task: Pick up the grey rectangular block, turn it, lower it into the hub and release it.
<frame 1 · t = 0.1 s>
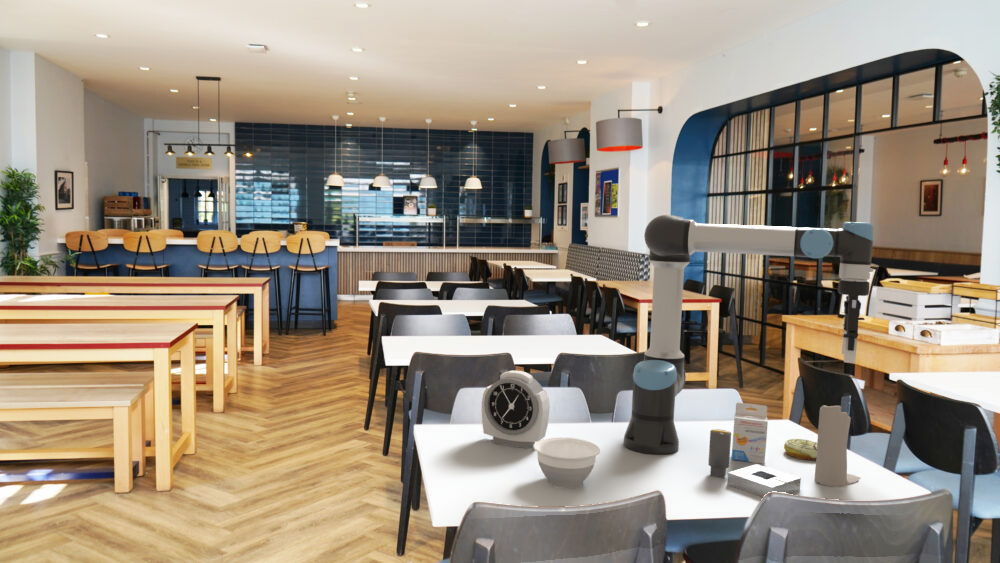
hand: (848, 358, 206), 28 cm above the table, fingers open, 13 cm apart
bowl: (565, 482, 183), on the table
ink box: (748, 460, 205), on the table
grey boot shape: (838, 480, 192), on the table
decorated donut: (804, 456, 211), on the table
grey rectangular block: (718, 475, 192), on the table
hub: (763, 487, 184), on the table
alarm clock: (514, 443, 212), on the table
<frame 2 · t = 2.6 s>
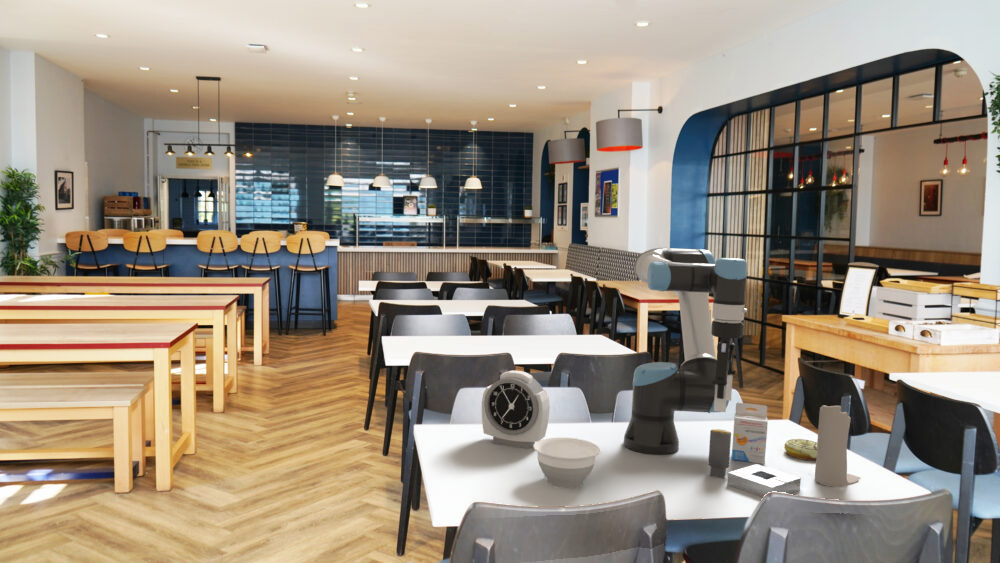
hand: (722, 405, 190), 18 cm above the table, fingers open, 13 cm apart
nothing on the table moved.
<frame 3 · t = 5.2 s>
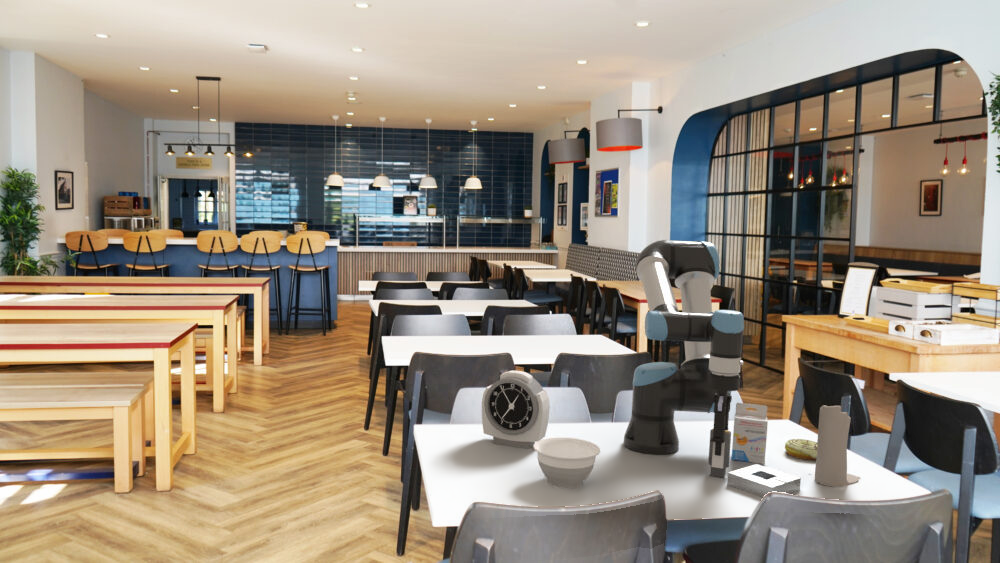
hand: (718, 463, 192), 3 cm above the table, fingers closed on grey rectangular block, 5 cm apart
grey rectangular block: (718, 474, 192), on the table, touching gripper
everything else where it was.
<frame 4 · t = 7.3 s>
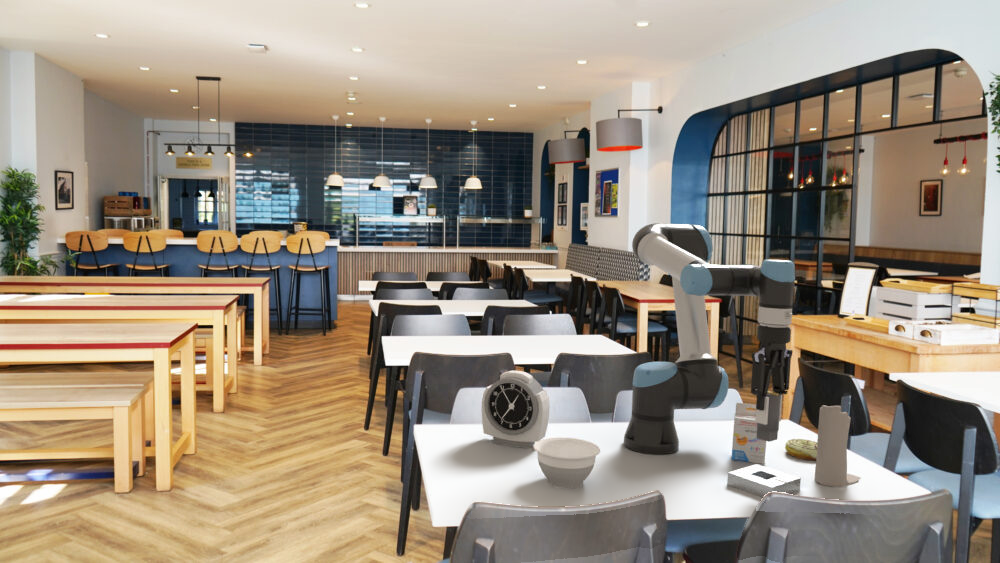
hand: (768, 421, 182), 16 cm above the table, fingers closed on grey rectangular block, 5 cm apart
grey rectangular block: (766, 438, 183), point 12 cm above the table, touching gripper
everything else where it was.
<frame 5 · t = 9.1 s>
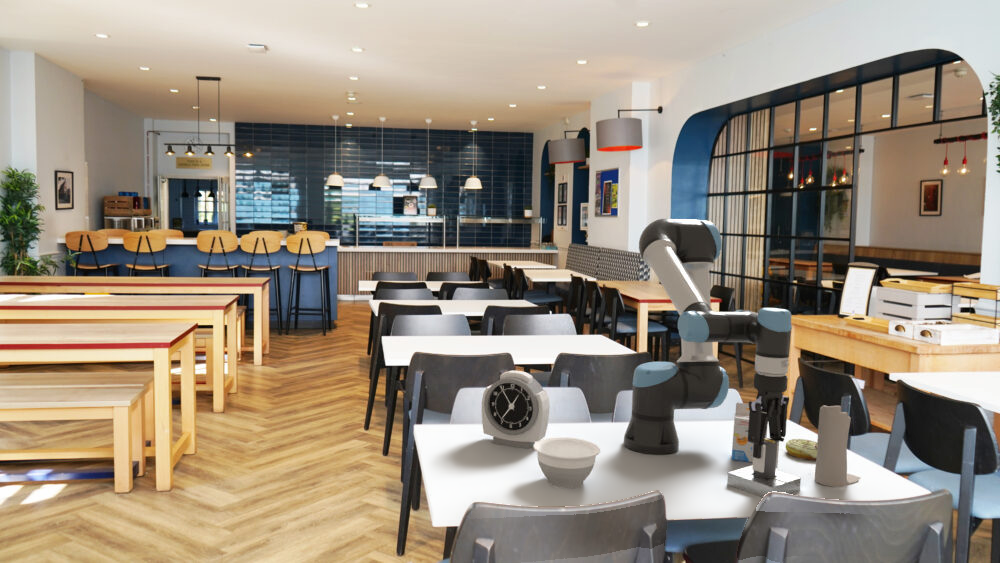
hand: (764, 468, 183), 5 cm above the table, fingers closed on grey rectangular block, 5 cm apart
grey rectangular block: (763, 485, 184), point 1 cm above the table, touching gripper
everything else where it was.
when the fingers open (5 cm above the table, at t = 9.9 s): grey rectangular block stays where it is, resting on hub.
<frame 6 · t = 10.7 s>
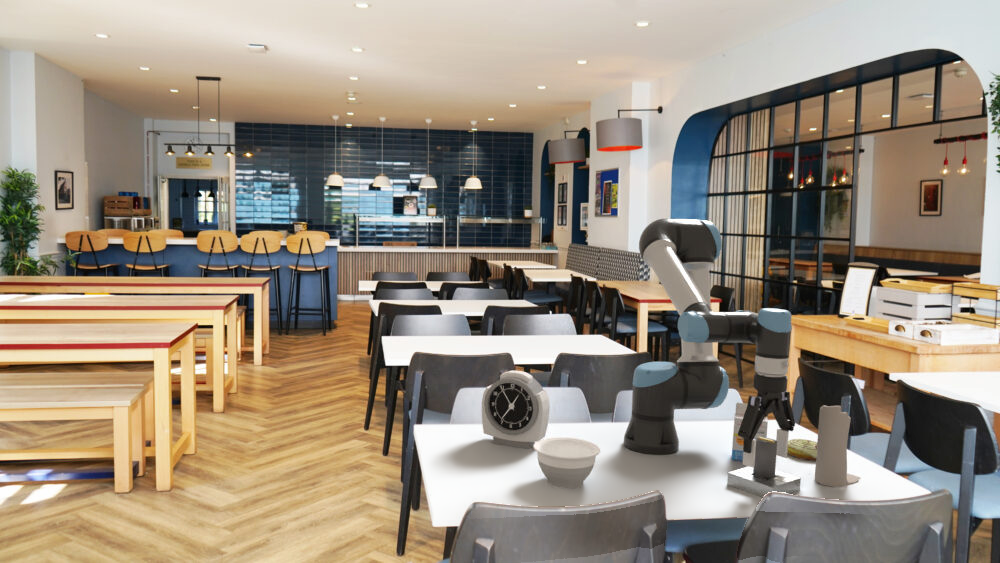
hand: (765, 460, 183), 7 cm above the table, fingers open, 13 cm apart
grey rectangular block: (763, 485, 184), resting on hub
everything else where it was.
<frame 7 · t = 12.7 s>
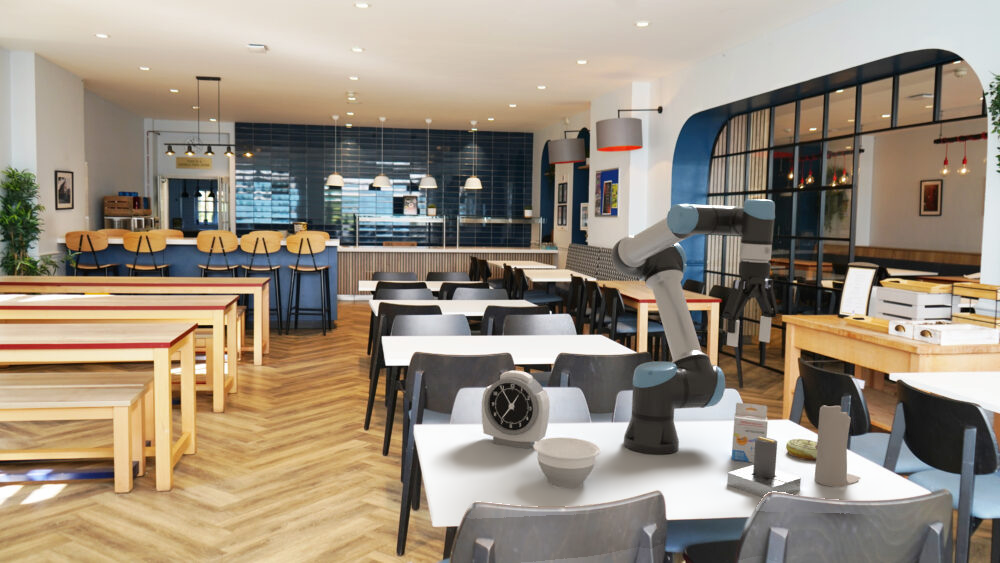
hand: (748, 343, 195), 33 cm above the table, fingers open, 13 cm apart
nothing on the table moved.
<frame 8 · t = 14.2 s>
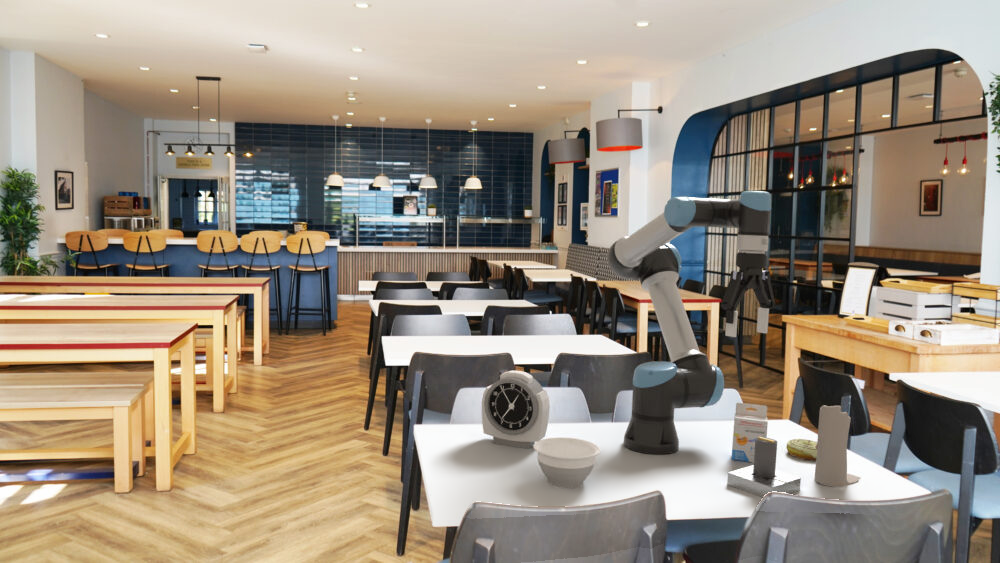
hand: (746, 334, 197), 35 cm above the table, fingers open, 13 cm apart
nothing on the table moved.
at the end: grey rectangular block 0.1 cm off-centre on the hub, point 0.5 cm above the hub's base; grey rectangular block tilted 0°; the gripper is holding nothing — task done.
